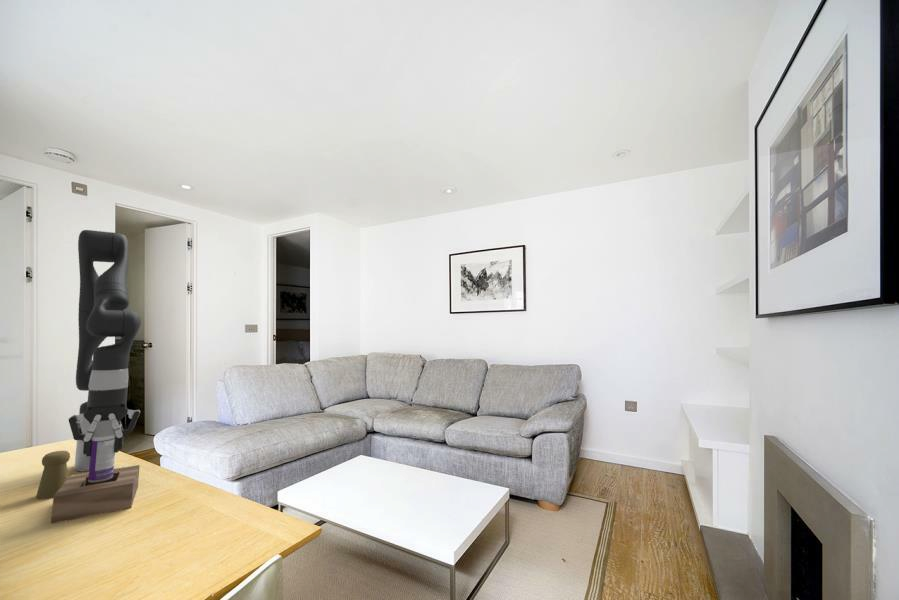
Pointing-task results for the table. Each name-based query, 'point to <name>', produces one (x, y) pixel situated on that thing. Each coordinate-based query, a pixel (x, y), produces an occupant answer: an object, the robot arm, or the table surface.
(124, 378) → the robot arm
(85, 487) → the well block
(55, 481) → the cork
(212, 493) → the table surface
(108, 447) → the container
